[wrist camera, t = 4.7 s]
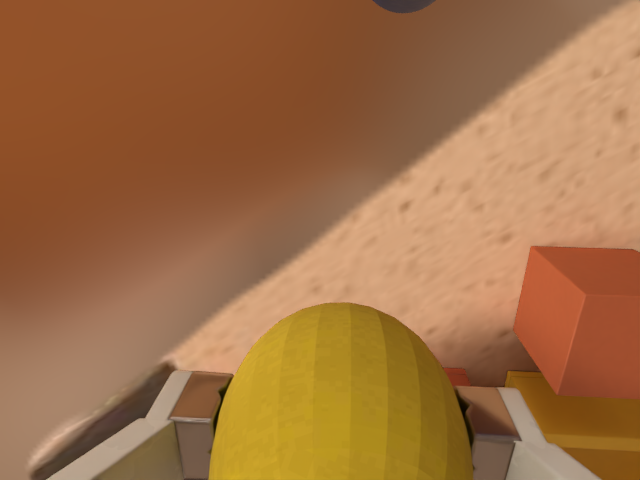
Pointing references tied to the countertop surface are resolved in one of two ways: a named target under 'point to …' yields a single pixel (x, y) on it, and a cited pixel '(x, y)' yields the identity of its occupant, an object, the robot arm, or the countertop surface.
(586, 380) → the block
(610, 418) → the yellow bin
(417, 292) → the countertop surface
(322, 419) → the lemon
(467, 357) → the countertop surface
